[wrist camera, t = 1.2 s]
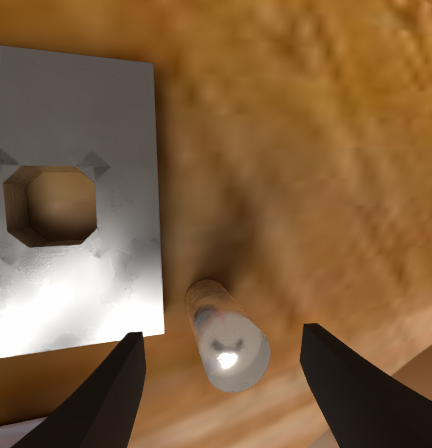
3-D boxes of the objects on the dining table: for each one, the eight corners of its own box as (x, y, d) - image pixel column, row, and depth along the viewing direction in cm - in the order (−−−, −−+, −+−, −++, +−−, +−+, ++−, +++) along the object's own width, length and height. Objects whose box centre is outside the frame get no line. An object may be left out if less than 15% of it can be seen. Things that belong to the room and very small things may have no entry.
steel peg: (227, 318, 23) (270, 384, 15) (185, 324, 22) (205, 399, 14) (226, 277, 23) (270, 320, 14) (183, 281, 22) (203, 330, 13)
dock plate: (162, 316, 22) (164, 333, 19) (-27, 341, 18) (-61, 366, 16) (153, 83, 20) (153, 63, 17) (-57, 63, 17) (-100, 33, 14)
